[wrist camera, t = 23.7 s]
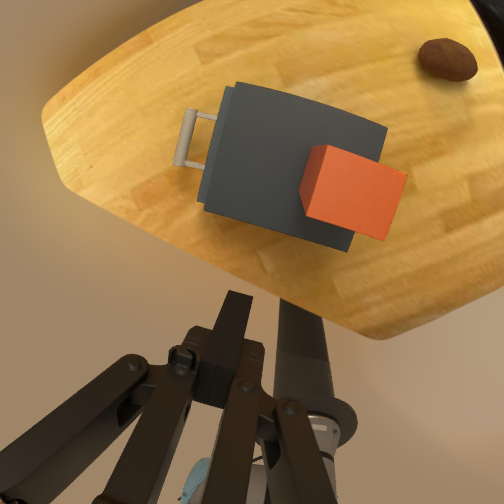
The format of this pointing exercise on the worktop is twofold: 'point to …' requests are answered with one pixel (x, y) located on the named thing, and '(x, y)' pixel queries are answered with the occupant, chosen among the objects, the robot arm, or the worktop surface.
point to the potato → (448, 59)
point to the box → (350, 191)
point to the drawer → (217, 133)
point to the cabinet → (282, 160)
